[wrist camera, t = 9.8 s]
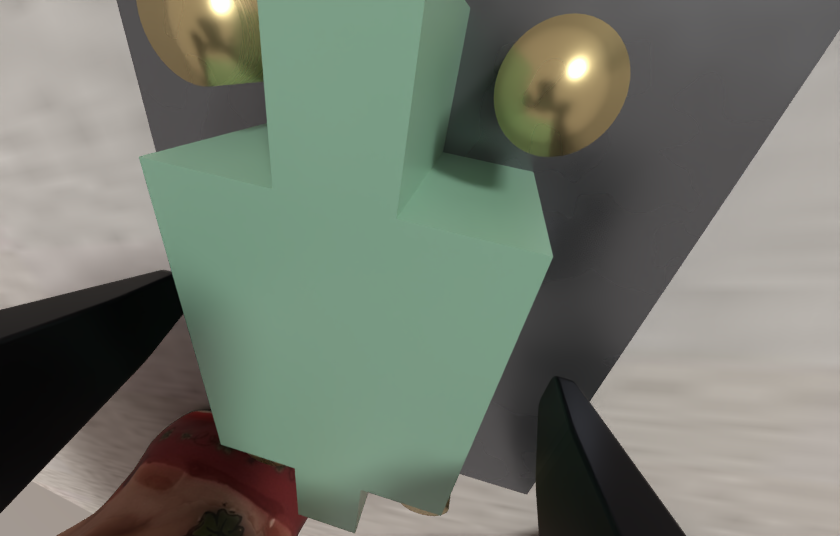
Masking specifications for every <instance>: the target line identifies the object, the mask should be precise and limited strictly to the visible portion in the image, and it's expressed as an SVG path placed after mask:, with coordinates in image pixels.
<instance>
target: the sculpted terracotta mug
mask: <svg viewBox="0 0 840 536" xmlns="http://www.w3.org/2000/svg"><path fill="white" fill-rule="evenodd" d="M307 518H308V517H305V516H302V515H299V514H298V502H297V490H296V477H295V468H292V467H289V466H286V465H282V466H271V465H267V464H264V463H262V462H259V461H258V460H256V459H254V458H253V457H251V456H250V455H249V454H248V453H246V452H243V451H240V450H237V449H234V448H231V447H227V446H224V445H221V442H220V439H219V435H218V432H217V428H216V425H215V421H214V418H213V414H212V411H204V410H202V411H194V412H191V413H189V414H186V415H184V416H183V417H181V418H179V419H178V420H177V421H175V422H174V423H172V424H171V425H170V426H168V427H167V428H166V429H165V430H163V431H162V432H161V433H160V434H159V435H158V436H157V437H156V438H155V439H154V440H153V441H152V442H151V444H150V445H149V447H148V448H147V450H146V452H145V453H144V455H143V456H142V458H141V459H140V461H139V463H138V464H137V466H136V467H135V469H134V470H133V471H132V472H131V474H130V475H129V476H128V477H127V478H126V480H125V481H124V482H123V483H122V484H121V485H120V487H119V488H118V489H117V490H116V491H115V493H114V494H113V495H112V496H111V497H110V498H109V500H108V501H107V502H106V503H105V504H104V505H103V506H102V507H101V508H100V509H99V510H97V511H96V512H95V513H94V514H92V515H91V516H90V517H88V518H86V519H84V520H83V521H81V522H80V523H78V524H76V525H74V526H73V527H71V528H69V529H67V530H66V531H64V532H62V533H60V534H58V535H57V536H298V534H299V532H300V530H301V528H302V527H303V525H304V523H305V521H306V520H307Z"/></svg>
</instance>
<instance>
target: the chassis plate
mask: <svg viewBox="0 0 840 536" xmlns="http://www.w3.org/2000/svg"><path fill="white" fill-rule="evenodd" d="M465 1H466V2H467V4H468V5H469V7H470V13H469V18H468V23H467V29H466V34H465V39H464V44H463V50H462V55H461V60H460V65H459V71H458V76H457V81H456V86H455V92H454V97H453V102H452V107H451V113H450V118H449V123H448V128H447V134H446V139H445V144H444V149H443V152H445V153H449V154H454V155H458V156H463V157H467V158H472V159H477V160H481V161H486V162H490V163H495V164H499V165H504V166H509V167H513V168H518V169H522V170H527V171H531V172H534V177H535V181H536V185H537V190H538V194H539V198H540V202H541V207H542V211H543V215H544V220H545V224H546V228H547V232H548V237H549V241H550V245H551V250H552V254H553V258H552V261H551V263H550V265H549V268H548V270H547V272H546V274H545V277H544V279H543V281H542V284H541V286H540V288H539V291H538V293H537V295H536V298H535V300H534V302H533V305H532V307H531V309H530V311H529V314H528V316H527V318H526V321H525V323H524V325H523V328H522V330H521V332H520V335H519V337H518V339H517V342H516V344H515V346H514V348H513V351H512V353H511V355H510V358H509V360H508V362H507V365H506V367H505V369H504V372H503V374H502V376H501V379H500V381H499V383H498V385H497V388H496V390H495V392H494V395H493V397H492V399H491V402H490V404H489V406H488V409H487V411H486V413H485V415H484V418H483V420H482V422H481V425H480V427H479V429H478V432H477V434H476V436H475V439H474V441H473V443H472V446H471V448H470V450H469V452H468V455H467V457H466V459H465V462H464V464H463V466H462V469H461V471H460V473H459V474H462V475H465V476H468V477H472V478H475V479H478V480H481V481H485V482H488V483H491V484H495V485H498V486H501V487H504V488H508V489H511V490H514V491H517V492H521V493H524V494H528V492H529V491H530V489H531V488H532V486H533V485H534V483H535V482H536V449H537V425H538V406H539V401H540V399H541V396H542V395H543V393H544V391H545V389H546V387H547V385H548V384H549V382H550V380H551V378H552V377H553V376H560V377H564V378H568V379H571V380H573V381H574V382H575V383H576V384H577V385H578V387H579V388H580V389H581V391H582V392H583V394H584V395H585V396H586V398H587V399H588V401H589V402H590V400H591V399H592V397H593V396H594V394H595V393H596V391H597V390H598V388H599V387H600V385H601V384H602V382H603V381H604V379H605V378H606V376H607V375H608V373H609V372H610V370H611V369H612V367H613V366H614V364H615V363H616V361H617V360H618V358H619V357H620V355H621V354H622V352H623V351H624V350H625V348H626V347H627V345H628V344H629V342H630V341H631V339H632V338H633V336H634V335H635V333H636V332H637V330H638V329H639V327H640V326H641V324H642V323H643V321H644V320H645V318H646V317H647V315H648V314H649V312H650V311H651V309H652V308H653V306H654V305H655V303H656V302H657V300H658V299H659V297H660V296H661V294H662V293H663V292H664V290H665V289H666V287H667V286H668V284H669V283H670V281H671V280H672V278H673V277H674V275H675V274H676V272H677V271H678V269H679V268H680V266H681V265H682V263H683V262H684V260H685V259H686V257H687V256H688V254H689V253H690V251H691V250H692V248H693V247H694V245H695V244H696V242H697V241H698V239H699V238H700V236H701V235H702V234H703V232H704V231H705V229H706V228H707V226H708V225H709V223H710V222H711V220H712V219H713V217H714V216H715V214H716V213H717V211H718V210H719V208H720V207H721V205H722V204H723V202H724V201H725V199H726V198H727V196H728V195H729V193H730V192H731V190H732V189H733V187H734V186H735V184H736V183H737V181H738V180H739V178H740V177H741V176H742V174H743V173H744V171H745V170H746V168H747V167H748V165H749V164H750V162H751V161H752V159H753V158H754V156H755V155H756V153H757V152H758V150H759V149H760V147H761V146H762V144H763V143H764V141H765V140H766V138H767V137H768V135H769V134H770V132H771V131H772V129H773V128H774V126H775V125H776V123H777V122H778V120H779V119H780V118H781V116H782V115H783V113H784V112H785V110H786V109H787V107H788V106H789V104H790V103H791V101H792V100H793V98H794V97H795V95H796V94H797V92H798V91H799V89H800V88H801V86H802V85H803V83H804V82H805V80H806V79H807V77H808V76H809V74H810V73H811V71H812V70H813V68H814V67H815V65H816V64H817V63H818V61H819V60H820V58H821V57H822V55H823V54H824V52H825V51H826V49H827V48H828V46H829V45H830V43H831V42H832V40H833V39H834V37H835V36H836V34H837V33H838V31H839V30H840V0H465ZM117 4H118V7H119V11H120V15H121V19H122V23H123V27H124V30H125V34H126V38H127V42H128V46H129V49H130V53H131V57H132V61H133V65H134V69H135V72H136V76H137V80H138V84H139V88H140V91H141V95H142V99H143V103H144V107H145V111H146V114H147V118H148V122H149V126H150V130H151V134H152V137H153V141H154V145H155V149H156V152H159V151H163V150H166V149H170V148H174V147H178V146H182V145H185V144H189V143H193V142H197V141H201V140H205V139H208V138H212V137H216V136H220V135H224V134H228V133H231V132H235V131H239V130H243V129H247V128H250V127H254V126H258V125H262V124H266V123H267V116H266V103H265V91H264V79H263V66H262V54H261V41H260V29H259V16H258V4H257V0H117ZM248 454H249V453H248ZM249 455H250V456H251V457H253V458H254V459H256V460H258V461H259V462H262V463H264V464H267V465H271V466H282V465H283V464H280V463H277V462H274V461H271V460H267V459H264V458H261V457H258V456H255V455H252V454H249ZM449 501H450V496H449V499H448V501H447V503H446V506H445V508H444V510H443V513H442V515H443V514H445V513H446V512H447V511H448V509H449ZM401 504H402V505H403V506H405V507H406V508H408V509H409V510H411V511H413V512H416V513H419V514H422V515H427V516H439V515H437V514H434V513H431V512H428V511H424V510H421V509H418V508H415V507H412V506H409V505H406V504H403V503H401Z"/></svg>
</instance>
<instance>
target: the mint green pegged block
mask: <svg viewBox="0 0 840 536" xmlns="http://www.w3.org/2000/svg"><path fill="white" fill-rule="evenodd" d="M257 4H258V16H259V29H260V41H261V54H262V66H263V79H264V91H265V103H266V116H267V123H266V124H262V125H258V126H254V127H250V128H247V129H243V130H239V131H235V132H231V133H228V134H224V135H220V136H216V137H212V138H208V139H205V140H201V141H197V142H193V143H189V144H185V145H182V146H178V147H174V148H170V149H166V150H163V151H159V152H155V153H151V154H147V155H143V156H140V157H139V159H140V163H141V166H142V170H143V173H144V177H145V180H146V184H147V187H148V191H149V194H150V198H151V201H152V205H153V208H154V212H155V215H156V219H157V222H158V226H159V229H160V233H161V236H162V240H163V243H164V247H165V250H166V254H167V257H168V261H169V264H170V268H171V271H172V275H173V278H174V282H175V285H176V288H177V292H178V295H179V299H180V302H181V306H182V309H183V313H184V316H185V320H186V323H187V327H188V330H189V334H190V337H191V341H192V344H193V348H194V351H195V355H196V358H197V362H198V365H199V369H200V372H201V376H202V379H203V383H204V386H205V390H206V393H207V397H208V400H209V404H210V407H211V411H212V414H213V418H214V421H215V425H216V428H217V432H218V435H219V439H220V442H221V445H224V446H227V447H231V448H234V449H237V450H240V451H243V452H246V453H249V454H252V455H255V456H258V457H261V458H264V459H267V460H271V461H274V462H277V463H280V464H283V465H286V466H289V467H292V468H295V477H296V490H297V502H298V514H299V515H302V516H305V517H308V518H311V519H314V520H317V521H320V522H323V523H326V524H329V525H332V526H335V527H338V528H341V529H344V530H347V531H349V532H352V533H355V532H356V529H357V526H358V523H359V519H360V516H361V513H362V510H363V507H364V504H365V501H366V498H367V495H368V492H369V493H372V494H375V495H378V496H381V497H384V498H388V499H391V500H394V501H397V502H400V503H403V504H406V505H409V506H412V507H415V508H418V509H421V510H424V511H428V512H431V513H434V514H437V515H440V516H441V515H442V513H443V510H444V508H445V506H446V503H447V501H448V499H449V496H450V494H451V492H452V489H453V487H454V485H455V483H456V480H457V478H458V476H459V473H460V471H461V469H462V466H463V464H464V462H465V459H466V457H467V455H468V452H469V450H470V448H471V446H472V443H473V441H474V439H475V436H476V434H477V432H478V429H479V427H480V425H481V422H482V420H483V418H484V415H485V413H486V411H487V409H488V406H489V404H490V402H491V399H492V397H493V395H494V392H495V390H496V388H497V385H498V383H499V381H500V379H501V376H502V374H503V372H504V369H505V367H506V365H507V362H508V360H509V358H510V355H511V353H512V351H513V348H514V346H515V344H516V342H517V339H518V337H519V335H520V332H521V330H522V328H523V325H524V323H525V321H526V318H527V316H528V314H529V311H530V309H531V307H532V305H533V302H534V300H535V298H536V295H537V293H538V291H539V288H540V286H541V284H542V281H543V279H544V277H545V274H546V272H547V270H548V268H549V265H550V263H551V261H552V258H553V254H552V250H551V245H550V241H549V237H548V232H547V228H546V224H545V220H544V215H543V211H542V207H541V202H540V198H539V194H538V190H537V185H536V181H535V177H534V172H531V171H527V170H522V169H518V168H513V167H509V166H504V165H499V164H495V163H490V162H486V161H481V160H477V159H472V158H467V157H463V156H458V155H454V154H449V153H445V152H443V149H444V144H445V139H446V134H447V128H448V123H449V118H450V113H451V107H452V102H453V97H454V92H455V86H456V81H457V76H458V71H459V65H460V60H461V55H462V50H463V44H464V39H465V34H466V29H467V23H468V18H469V13H470V7H469V5H468V4H467V2H466V1H465V0H257Z"/></svg>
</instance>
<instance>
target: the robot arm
mask: <svg viewBox="0 0 840 536" xmlns="http://www.w3.org/2000/svg"><path fill="white" fill-rule="evenodd" d="M183 314H184V313H183V309H182V306H181V302H180V299H179V295H178V292H177V288H176V285H175V282H174V278H173V275H172V272H171V271H167V270H160V271H156V272H152V273H148V274H143V275H139V276H135V277H131V278H127V279H123V280H119V281H115V282H111V283H107V284H103V285H99V286H95V287H91V288H87V289H83V290H79V291H75V292H71V293H67V294H63V295H59V296H55V297H51V298H47V299H43V300H39V301H35V302H30V303H26V304H22V305H18V306H14V307H10V308H6V309H2V310H0V513H1V512H2V511H3V510H4V509H5V508H6V507H7V506H8V505H9V504H10V503H11V502H12V500H13V499H14V498H15V497H16V496H17V495H18V494H19V493H20V492H21V491H22V490H23V489H24V488H25V487H26V486H27V485H28V484H29V483H30V482H31V481H32V480H33V479H34V478H35V476H36V475H37V474H38V473H39V472H40V471H41V470H42V469H43V468H44V467H45V466H46V465H47V464H48V463H49V462H50V461H51V460H52V459H53V458H54V457H55V456H56V454H57V453H58V452H59V451H60V450H61V449H62V448H63V447H64V446H65V445H66V444H67V443H68V442H69V441H70V440H71V439H72V438H73V437H74V436H75V435H76V434H77V433H78V431H79V430H80V429H81V428H82V427H83V426H84V425H85V424H86V423H87V422H88V421H89V420H90V419H91V418H92V417H93V416H94V415H95V414H96V413H97V412H98V411H99V409H100V408H101V407H102V406H103V405H104V404H105V403H106V402H107V401H108V400H109V399H110V398H111V397H112V396H113V395H114V394H115V393H116V392H117V391H118V390H119V389H120V387H121V386H122V385H123V384H124V383H125V382H126V381H127V380H128V379H129V378H130V377H131V376H132V375H133V374H134V373H135V372H136V371H137V370H138V369H139V367H140V366H141V365H142V364H143V363H144V362H145V361H146V360H147V359H148V357H149V356H150V355H151V354H152V353H153V351H154V350H155V349H156V348H157V346H158V345H159V344H160V343H161V341H162V340H163V339H164V337H165V336H166V335H167V334H168V332H169V331H170V330H171V329H172V327H173V326H174V325H175V324H176V322H177V321H178V320H179V319H180V317H181V316H182V315H183ZM536 497H537V512H538V527H539V536H686V535H685V533H684V532H683V531H682V529H681V528H680V527H679V525H678V524H677V522H676V521H675V520H674V518H673V517H672V515H671V514H670V513H669V511H668V510H667V509H666V507H665V506H664V504H663V503H662V502H661V500H660V499H659V497H658V496H657V495H656V493H655V492H654V491H653V489H652V488H651V486H650V485H649V484H648V482H647V481H646V479H645V478H644V477H643V475H642V474H641V473H640V471H639V470H638V468H637V467H636V466H635V464H634V463H633V461H632V460H631V459H630V457H629V456H628V455H627V453H626V452H625V450H624V449H623V448H622V446H621V445H620V443H619V442H618V441H617V439H616V438H615V437H614V435H613V434H612V432H611V431H610V430H609V428H608V427H607V425H606V424H605V423H604V421H603V420H602V419H601V417H600V416H599V414H598V413H597V412H596V410H595V409H594V407H593V406H592V405H591V403H590V402H589V401H588V399H587V398H586V396H585V395H584V394H583V392H582V391H581V389H580V388H579V387H578V385H577V384H576V383H575V382H574V381H573V380H571V379H568V378H564V377H560V376H553V377H552V378H551V380H550V382H549V384H548V385H547V387H546V389H545V391H544V393H543V395H542V396H541V399H540V401H539V406H538V425H537V449H536Z"/></svg>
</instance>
